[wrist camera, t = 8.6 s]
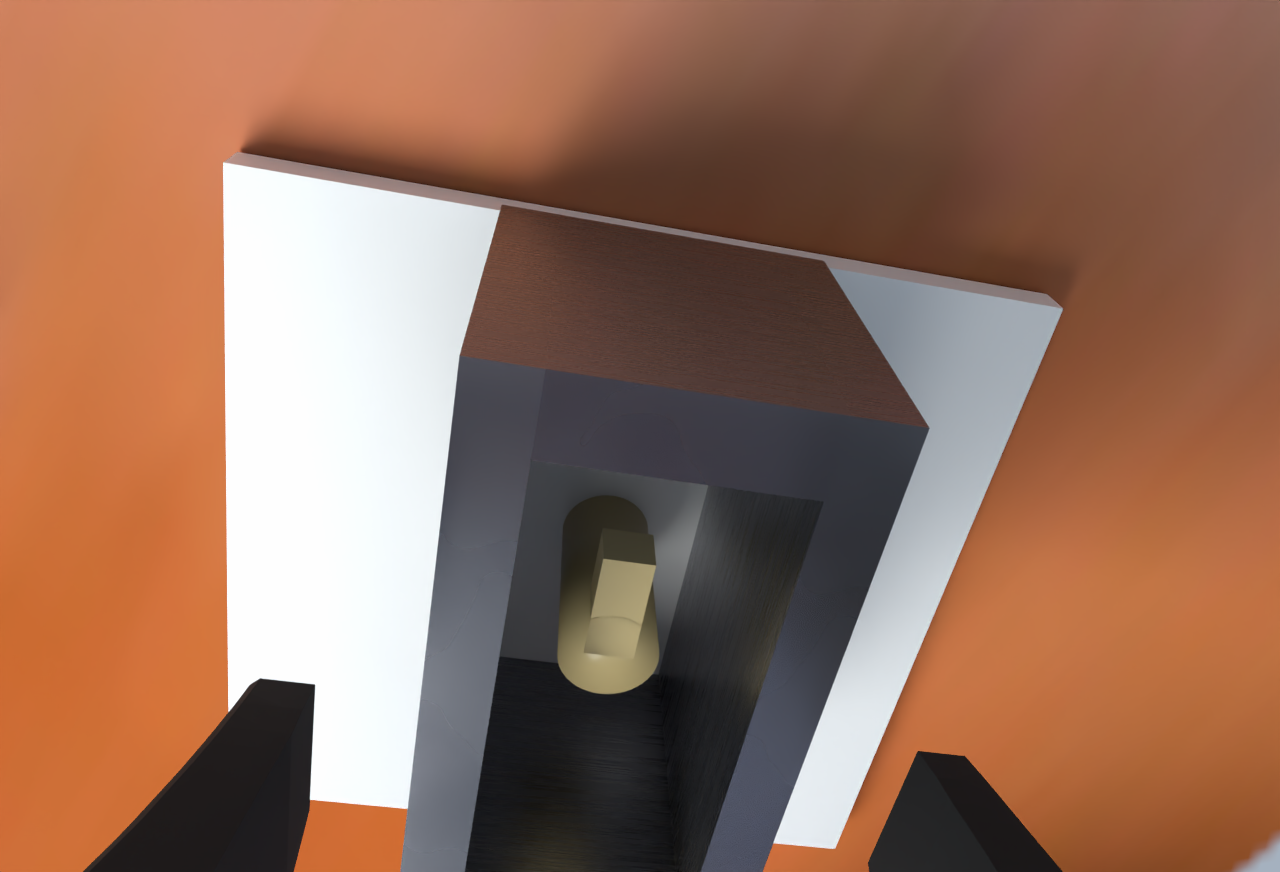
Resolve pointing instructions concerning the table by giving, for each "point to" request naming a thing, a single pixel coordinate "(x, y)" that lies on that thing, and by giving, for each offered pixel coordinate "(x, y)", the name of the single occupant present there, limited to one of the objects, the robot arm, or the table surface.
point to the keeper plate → (555, 495)
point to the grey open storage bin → (718, 563)
